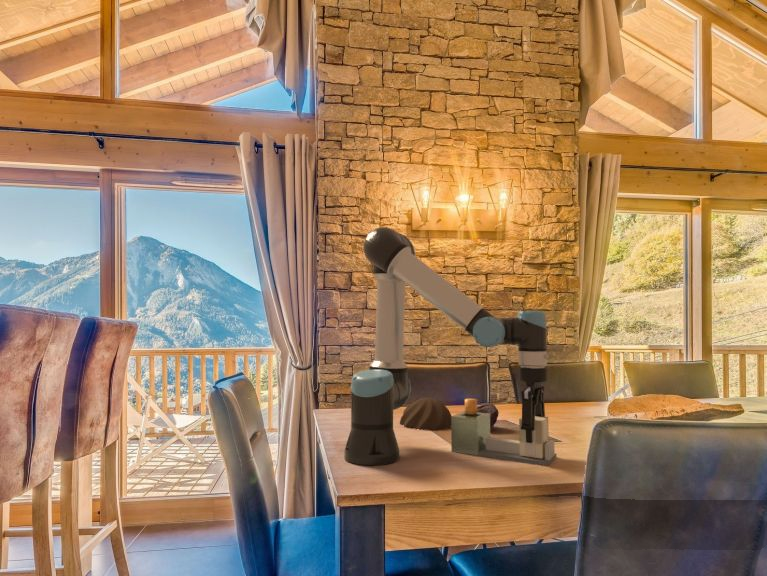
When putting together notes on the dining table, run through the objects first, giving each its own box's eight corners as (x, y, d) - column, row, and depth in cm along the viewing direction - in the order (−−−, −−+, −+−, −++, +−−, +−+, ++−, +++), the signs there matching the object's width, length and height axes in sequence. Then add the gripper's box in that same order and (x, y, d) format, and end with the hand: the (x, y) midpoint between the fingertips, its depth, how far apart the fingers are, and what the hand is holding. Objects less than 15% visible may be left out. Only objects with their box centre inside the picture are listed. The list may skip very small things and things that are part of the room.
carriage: (542, 458, 132) (541, 421, 132) (519, 455, 135) (519, 418, 136) (548, 452, 138) (548, 417, 138) (527, 449, 141) (526, 415, 141)
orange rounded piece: (474, 415, 144) (474, 400, 144) (462, 414, 146) (462, 399, 146) (479, 413, 147) (478, 399, 148) (467, 412, 149) (467, 398, 149)
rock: (466, 434, 172) (495, 436, 167) (464, 409, 171) (493, 411, 167) (477, 422, 182) (504, 424, 177) (475, 399, 182) (502, 401, 177)
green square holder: (477, 455, 140) (477, 419, 140) (451, 451, 144) (451, 416, 145) (490, 447, 148) (490, 413, 149) (465, 444, 152) (465, 411, 153)
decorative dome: (459, 422, 187) (459, 395, 188) (444, 432, 169) (444, 403, 170) (411, 418, 195) (411, 392, 196) (391, 427, 177) (391, 399, 178)
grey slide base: (547, 466, 129) (546, 446, 130) (477, 455, 140) (477, 437, 140) (556, 457, 138) (556, 438, 138) (490, 447, 148) (490, 430, 148)
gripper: (536, 370, 128) (538, 462, 126) (555, 364, 144) (557, 445, 143) (507, 368, 132) (509, 457, 130) (529, 363, 148) (531, 442, 147)
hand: (534, 451), depth 136 cm, fingers closed on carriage, 7 cm apart
